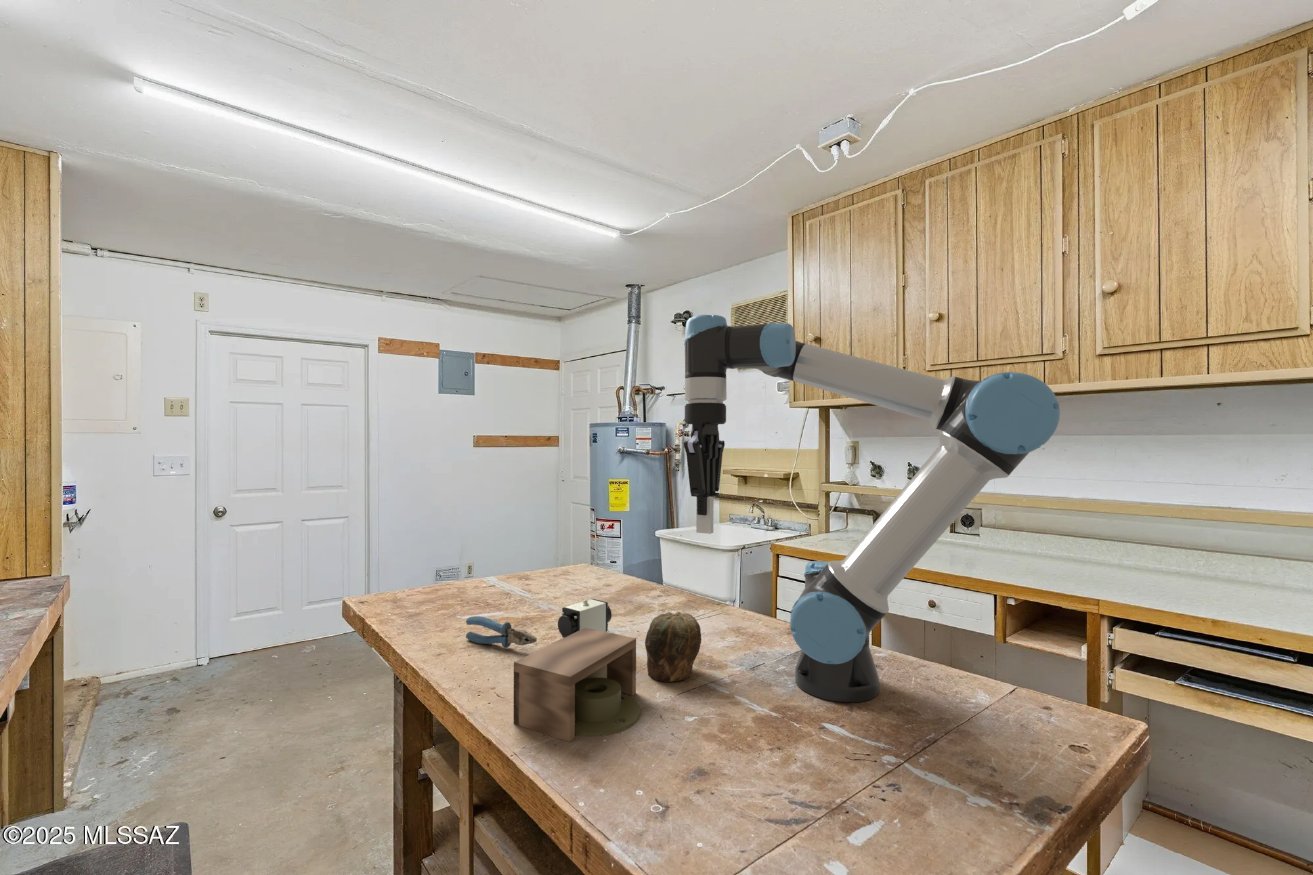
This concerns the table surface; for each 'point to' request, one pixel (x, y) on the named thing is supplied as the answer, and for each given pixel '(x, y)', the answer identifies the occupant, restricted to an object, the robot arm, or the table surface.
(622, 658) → the shelf
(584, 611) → the pneumatic valve
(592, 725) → the flange
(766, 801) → the table surface
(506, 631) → the pliers
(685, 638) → the green ball cactus
